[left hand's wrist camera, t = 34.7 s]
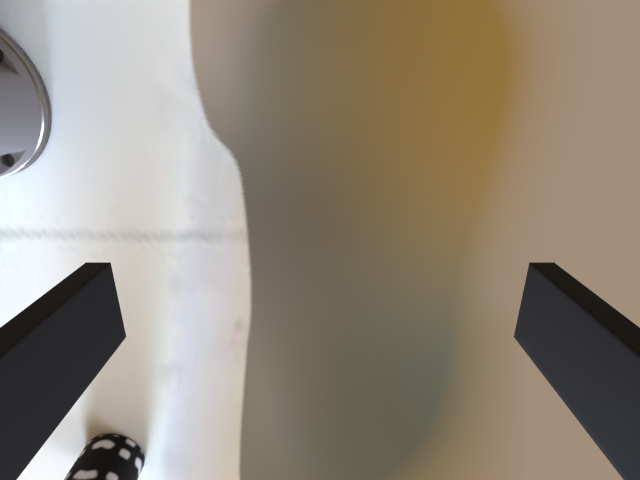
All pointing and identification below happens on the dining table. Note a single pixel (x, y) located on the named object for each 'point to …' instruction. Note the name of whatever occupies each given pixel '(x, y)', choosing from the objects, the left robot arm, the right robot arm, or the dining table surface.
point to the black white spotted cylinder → (108, 460)
